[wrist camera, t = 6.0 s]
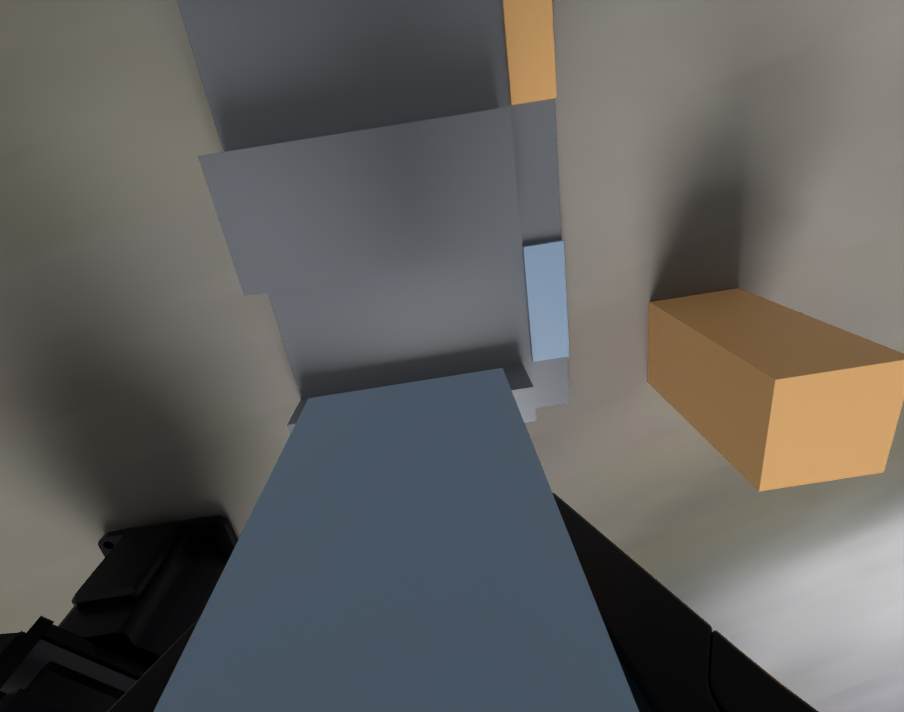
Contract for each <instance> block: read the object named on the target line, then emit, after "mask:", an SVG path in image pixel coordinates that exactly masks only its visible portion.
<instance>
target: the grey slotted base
mask: <svg viewBox="0 0 904 712" xmlns="http://www.w3.org/2000/svg"><path fill="white" fill-rule="evenodd" d="M177 2H178V5H179V8H180V12H181V15H182V18H183V21H184V24H185V28H186V31H187V34H188V37H189V41H190V44H191V47H192V50H193V53H194V57H195V60H196V63H197V66H198V69H199V73H200V76H201V79H202V82H203V86H204V89H205V92H206V95H207V98H208V102H209V105H210V108H211V111H212V114H213V118H214V121H215V124H216V127H217V131H218V134H219V137H220V140H221V143H222V147H223V150H224V152H221V153H214V154H208V155H202V156H198V158H199V161H200V164H201V167H202V170H203V173H204V176H205V179H206V182H207V185H208V188H209V191H210V194H211V197H212V200H213V203H214V206H215V209H216V212H217V215H218V218H219V221H220V224H221V227H222V230H223V233H224V236H225V239H226V242H227V245H228V248H229V251H230V254H231V257H232V260H233V263H234V266H235V269H236V272H237V275H238V278H239V281H240V284H241V287H242V290H243V293H244V296H245V295H252V294H258V293H265V292H268V294H269V298H270V301H271V304H272V307H273V311H274V314H275V317H276V320H277V323H278V327H279V330H280V333H281V336H282V339H283V343H284V346H285V349H286V352H287V356H288V359H289V362H290V365H291V368H292V372H293V375H294V378H295V381H296V384H297V388H298V391H299V394H300V397H301V400H300V402H299V404H298V406H297V408H296V409H295V411H294V413H293V415H292V417H291V419H290V421H289V423H288V428H289V431H290V434H291V433H292V431H293V429H294V427H295V424H296V422H297V420H298V418H299V416H300V414H301V412H302V410H303V408H304V406H305V404H306V402H307V400H308V398H314V397H321V396H327V395H333V394H340V393H346V392H352V391H359V390H365V389H371V388H378V387H384V386H390V385H397V384H403V383H409V382H416V381H422V380H428V379H435V378H441V377H447V376H454V375H460V374H466V373H473V372H479V371H485V370H492V369H498V368H503V370H504V373H505V375H506V378H507V380H508V383H509V385H510V388H511V390H512V393H513V395H514V398H515V400H516V403H517V406H518V408H519V411H520V413H521V416H522V418H523V421H524V423H527V422H534V421H537V419H536V408H540V407H547V406H553V405H560V404H566V403H570V396H569V376H568V356H569V339H568V319H567V298H566V278H565V257H564V241H563V240H562V237H561V217H560V198H559V178H558V158H557V138H556V118H555V98H557V93H556V72H555V52H554V31H553V11H552V0H177Z"/></svg>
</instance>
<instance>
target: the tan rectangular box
mask: <svg viewBox="0 0 904 712" xmlns="http://www.w3.org/2000/svg"><path fill="white" fill-rule="evenodd" d="M647 382H648V383H649V384H650V385H651V386H652V387H653V388H654V389H655V390H656V391H657V392H658V393H659V394H660V395H661V396H662V397H663V398H664V399H665V400H666V401H667V402H668V403H669V404H670V405H672V406H673V407H674V408H675V409H676V410H677V411H678V412H679V413H680V414H681V415H682V416H683V417H684V418H685V419H686V420H687V421H688V422H689V423H690V424H691V425H692V426H693V427H694V428H695V429H696V430H697V431H698V432H699V433H700V434H701V435H702V436H703V437H704V438H705V439H706V440H707V441H708V442H709V443H710V444H711V445H712V446H713V447H714V448H715V449H716V450H717V451H718V452H719V453H720V454H722V455H723V456H724V457H725V458H726V459H727V460H728V461H729V462H730V463H731V464H732V465H733V466H734V467H735V468H736V469H737V470H738V471H739V472H740V473H741V474H742V475H743V476H744V477H745V478H746V479H747V480H748V481H749V482H750V483H751V484H752V485H753V486H754V487H755V488H756V489H757V490H758V491H765V490H771V489H778V488H784V487H791V486H797V485H804V484H810V483H817V482H824V481H830V480H837V479H843V478H850V477H856V476H863V475H869V474H876V473H882V472H884V470H885V466H886V462H887V459H888V455H889V451H890V448H891V444H892V440H893V437H894V433H895V429H896V426H897V422H898V418H899V415H900V411H901V407H902V404H903V400H904V354H903V353H900V352H898V351H895V350H893V349H890V348H888V347H885V346H883V345H880V344H878V343H875V342H873V341H870V340H868V339H865V338H863V337H860V336H857V335H855V334H852V333H850V332H847V331H845V330H842V329H840V328H837V327H835V326H832V325H830V324H827V323H825V322H822V321H820V320H817V319H815V318H812V317H810V316H807V315H805V314H802V313H799V312H797V311H794V310H792V309H789V308H787V307H784V306H782V305H779V304H777V303H774V302H772V301H769V300H767V299H764V298H762V297H759V296H757V295H754V294H752V293H749V292H747V291H744V290H742V289H739V288H737V289H730V290H724V291H717V292H711V293H704V294H698V295H692V296H685V297H679V298H672V299H666V300H660V301H653V302H649V333H648V375H647Z"/></svg>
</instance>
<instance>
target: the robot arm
mask: <svg viewBox="0 0 904 712" xmlns="http://www.w3.org/2000/svg"><path fill="white" fill-rule="evenodd" d="M552 494H553V496H554V499H555V501H556V504H557V506H558V509H559V511H560V514H561V516H562V519H563V521H564V524H565V526H566V529H567V531H568V534H569V536H570V539H571V541H572V544H573V546H574V549H575V552H576V554H577V557H578V559H579V562H580V564H581V567H582V569H583V572H584V574H585V577H586V579H587V582H588V584H589V587H590V589H591V592H592V594H593V597H594V599H595V602H596V604H597V607H598V609H599V612H600V614H601V617H602V619H603V622H604V625H605V627H606V630H607V632H608V635H609V637H610V640H611V642H612V645H613V647H614V650H615V652H616V655H617V657H618V660H619V662H620V665H621V667H622V670H623V672H624V675H625V677H626V680H627V682H628V685H629V687H630V690H631V693H632V695H633V698H634V700H635V703H636V705H637V708H638V710H639V712H818V711H817V710H816V709H814V708H813V707H812V706H810V705H809V704H807V703H806V702H805V701H803V700H802V699H801V698H799V697H798V696H797V695H795V694H794V693H793V692H791V691H790V690H789V689H787V688H786V687H785V686H783V685H782V684H781V683H780V682H778V681H777V680H776V679H775V678H773V677H772V676H771V675H770V674H769V673H767V672H766V671H765V670H764V669H762V668H761V667H760V666H759V665H757V664H756V663H755V662H754V661H752V660H751V659H750V658H749V657H748V656H746V655H745V654H744V653H743V652H741V651H740V650H739V649H738V648H737V647H735V646H734V645H733V644H732V643H731V642H730V641H728V640H727V639H726V638H725V637H724V636H722V635H721V634H720V633H719V632H718V631H713V632H712V627H711V626H710V625H709V624H708V623H707V622H706V621H704V620H703V619H702V618H701V617H700V616H699V615H697V614H696V613H695V612H694V611H693V610H692V609H690V608H689V607H688V606H687V605H686V604H684V603H683V602H682V601H681V600H680V599H679V598H677V597H676V596H675V595H674V594H673V593H671V592H670V591H669V590H668V589H667V588H666V587H664V586H663V585H662V584H661V583H660V582H658V581H657V580H656V579H655V578H654V577H653V576H651V575H650V574H649V573H648V572H647V571H645V570H644V569H643V568H642V567H641V566H640V565H638V564H637V563H636V562H635V561H634V560H632V559H631V558H630V557H629V556H628V555H627V554H625V553H624V552H623V551H622V550H621V549H619V548H618V547H617V546H616V545H615V544H614V543H612V542H611V541H610V540H609V539H608V538H606V537H605V536H604V535H603V534H602V533H601V532H599V531H598V530H597V529H596V528H595V527H593V526H592V525H591V524H590V523H589V522H588V521H586V520H585V519H584V518H583V517H582V516H581V515H579V514H578V513H577V512H576V511H575V510H573V509H572V508H571V507H570V506H569V505H568V504H566V503H565V502H564V501H563V500H562V499H560V498H559V497H558V496H557V495H556V494H554V493H552ZM215 525H217V526H219V527H217V526H215ZM236 544H237V541H236V538H235V536H234V534H233V532H232V529H231V527H230V525H229V522H228V521H227V519H225V518H224V517H222V516H211V517H204V518H198V519H191V520H184V521H178V522H171V523H164V524H158V525H151V526H145V527H138V528H131V529H126V530H119V531H113V532H108V533H106V534H105V535H104V536H103V537H102V538H101V539H100V540H99V542H98V545H99V548H100V549H101V551H102V553H103V554H104V556H105V558H104V560H103V561H102V562H101V563H100V564H99V566H98V567H97V568H96V569H95V571H94V572H93V573H92V574H91V575H90V577H89V578H88V579H87V580H86V582H85V583H84V584H83V585H82V587H81V588H80V589H79V590H78V591H77V593H76V594H75V596H74V597H73V599H72V603H73V604H74V607H73V608H72V609H71V611H70V612H69V613H68V614H67V616H66V617H65V618H64V620H63V621H62V622H61V623H60V625H59V626H56V625H53V623H54V621H52V620H49V619H47V618H45V617H43V616H40V618H39V619H38V620H37V621H36V622H35V623H34V625H33V626H32V627H31V628H30V629H29V631H28V632H27V633H25V632H23V631H21V632H19V633H8V634H0V712H154V710H155V708H156V706H157V704H158V702H159V699H160V697H161V695H162V693H163V691H164V689H165V687H166V685H167V683H168V681H169V679H170V677H171V675H172V673H173V671H174V669H175V667H176V665H177V663H178V661H179V659H180V657H181V655H182V653H183V651H184V649H185V647H186V645H187V643H188V641H189V639H190V637H191V635H192V633H193V631H194V629H195V627H196V625H197V623H198V621H199V619H200V617H201V615H202V613H203V611H204V608H205V606H206V604H207V602H208V600H209V598H210V596H211V594H212V592H213V590H214V588H215V586H216V584H217V582H218V580H219V578H220V576H221V574H222V572H223V570H224V568H225V566H226V564H227V562H228V560H229V558H230V556H231V554H232V552H233V550H234V548H235V546H236Z"/></svg>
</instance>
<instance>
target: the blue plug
mask: <svg viewBox="0 0 904 712" xmlns="http://www.w3.org/2000/svg"><path fill="white" fill-rule="evenodd" d="M154 712H639V710H638V708H637V705H636V703H635V700H634V698H633V695H632V693H631V690H630V687H629V685H628V682H627V680H626V677H625V675H624V672H623V670H622V667H621V665H620V662H619V660H618V657H617V655H616V652H615V650H614V647H613V645H612V642H611V640H610V637H609V635H608V632H607V630H606V627H605V625H604V622H603V619H602V617H601V614H600V612H599V609H598V607H597V604H596V602H595V599H594V597H593V594H592V592H591V589H590V587H589V584H588V582H587V579H586V577H585V574H584V572H583V569H582V567H581V564H580V562H579V559H578V557H577V554H576V552H575V549H574V546H573V544H572V541H571V539H570V536H569V534H568V531H567V529H566V526H565V524H564V521H563V519H562V516H561V514H560V511H559V509H558V506H557V504H556V501H555V499H554V496H553V494H552V491H551V489H550V486H549V484H548V481H547V479H546V476H545V473H544V471H543V468H542V466H541V463H540V461H539V458H538V456H537V453H536V451H535V448H534V446H533V443H532V441H531V438H530V436H529V433H528V431H527V428H526V426H525V423H524V421H523V418H522V416H521V413H520V411H519V408H518V406H517V403H516V400H515V398H514V395H513V393H512V390H511V388H510V385H509V383H508V380H507V378H506V375H505V373H504V370H503V368H498V369H492V370H485V371H479V372H473V373H466V374H460V375H454V376H447V377H441V378H435V379H428V380H422V381H416V382H409V383H403V384H397V385H390V386H384V387H378V388H371V389H365V390H359V391H352V392H346V393H340V394H333V395H327V396H321V397H314V398H308V400H307V402H306V404H305V406H304V408H303V410H302V412H301V414H300V416H299V418H298V420H297V422H296V424H295V427H294V429H293V431H292V433H291V435H290V437H289V439H288V441H287V443H286V445H285V447H284V449H283V451H282V453H281V455H280V457H279V459H278V461H277V463H276V465H275V467H274V469H273V471H272V473H271V475H270V477H269V479H268V481H267V483H266V485H265V487H264V489H263V491H262V493H261V495H260V497H259V499H258V501H257V503H256V505H255V507H254V509H253V511H252V513H251V515H250V518H249V520H248V522H247V524H246V526H245V528H244V530H243V532H242V534H241V536H240V538H239V540H238V542H237V544H236V546H235V548H234V550H233V552H232V554H231V556H230V558H229V560H228V562H227V564H226V566H225V568H224V570H223V572H222V574H221V576H220V578H219V580H218V582H217V584H216V586H215V588H214V590H213V592H212V594H211V596H210V598H209V600H208V602H207V604H206V606H205V608H204V611H203V613H202V615H201V617H200V619H199V621H198V623H197V625H196V627H195V629H194V631H193V633H192V635H191V637H190V639H189V641H188V643H187V645H186V647H185V649H184V651H183V653H182V655H181V657H180V659H179V661H178V663H177V665H176V667H175V669H174V671H173V673H172V675H171V677H170V679H169V681H168V683H167V685H166V687H165V689H164V691H163V693H162V695H161V697H160V699H159V702H158V704H157V706H156V708H155V710H154Z"/></svg>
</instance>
